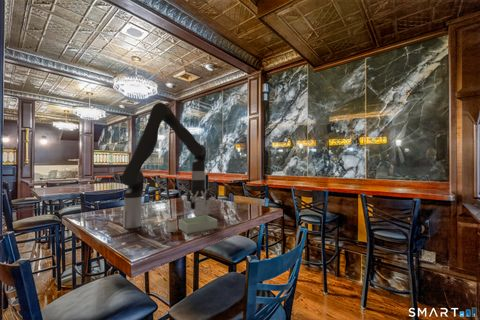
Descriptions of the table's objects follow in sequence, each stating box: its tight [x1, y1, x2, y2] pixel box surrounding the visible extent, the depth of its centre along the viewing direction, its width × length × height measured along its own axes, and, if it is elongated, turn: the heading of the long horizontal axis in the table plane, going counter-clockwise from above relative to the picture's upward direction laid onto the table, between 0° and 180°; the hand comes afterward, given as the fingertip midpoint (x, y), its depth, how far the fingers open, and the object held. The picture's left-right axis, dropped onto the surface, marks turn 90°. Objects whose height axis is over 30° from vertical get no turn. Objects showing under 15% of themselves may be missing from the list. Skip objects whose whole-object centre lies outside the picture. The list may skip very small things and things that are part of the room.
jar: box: [166, 217, 178, 233], centre depth 118 cm, size 5×5×7 cm
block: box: [190, 198, 205, 212], centre depth 124 cm, size 6×6×6 cm
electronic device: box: [193, 173, 210, 217], centre depth 157 cm, size 12×8×30 cm, turn 168°
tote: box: [178, 215, 219, 235], centre depth 124 cm, size 18×13×5 cm
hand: (198, 208), depth 124 cm, fingers closed on block, 6 cm apart
